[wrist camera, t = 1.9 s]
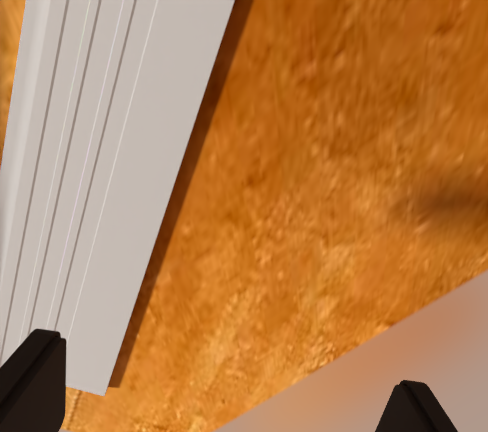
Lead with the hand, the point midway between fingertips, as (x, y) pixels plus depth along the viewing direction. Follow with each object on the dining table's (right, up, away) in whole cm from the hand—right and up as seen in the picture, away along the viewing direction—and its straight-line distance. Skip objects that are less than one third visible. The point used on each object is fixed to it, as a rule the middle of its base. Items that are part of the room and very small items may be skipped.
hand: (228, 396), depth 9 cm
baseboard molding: (-11, +7, +14) cm, 19 cm away
